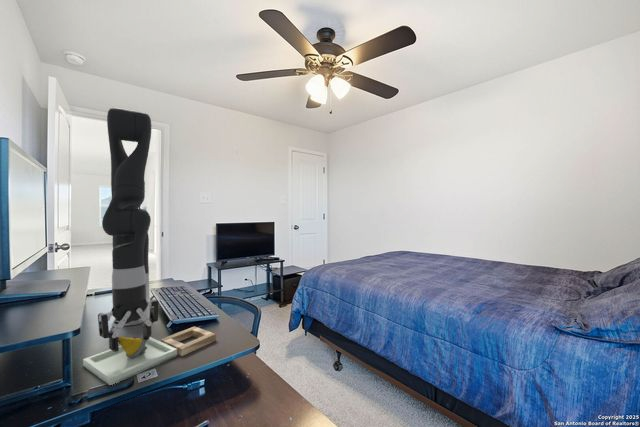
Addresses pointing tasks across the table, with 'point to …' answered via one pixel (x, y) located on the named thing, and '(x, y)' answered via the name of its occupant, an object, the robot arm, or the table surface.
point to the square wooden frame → (184, 349)
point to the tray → (128, 361)
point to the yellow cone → (132, 346)
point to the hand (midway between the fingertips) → (131, 344)
